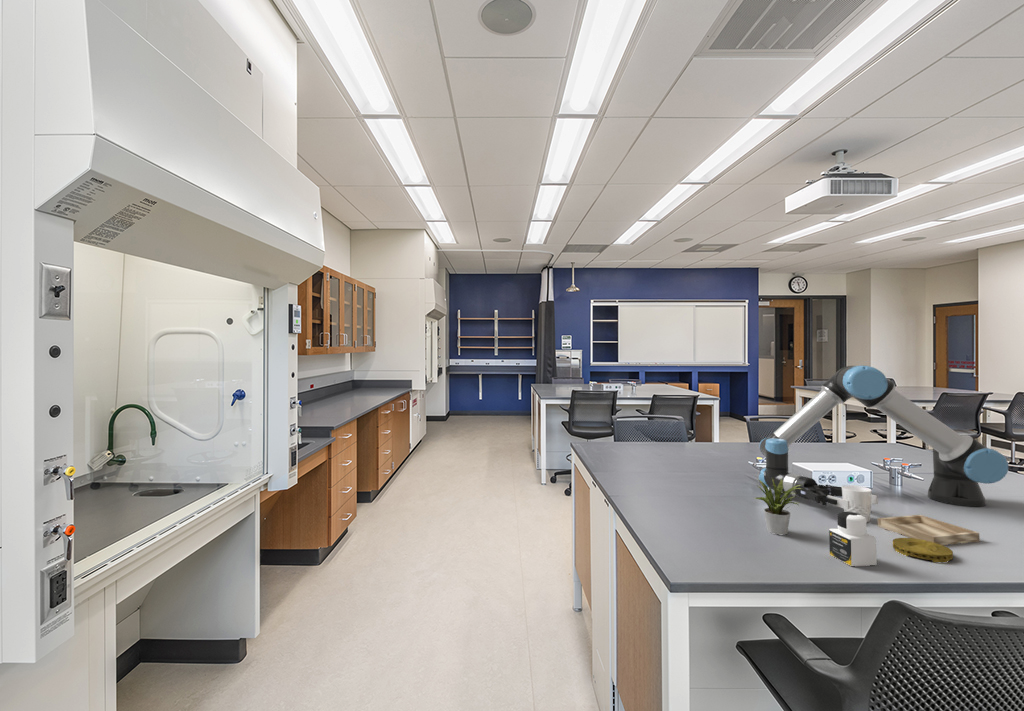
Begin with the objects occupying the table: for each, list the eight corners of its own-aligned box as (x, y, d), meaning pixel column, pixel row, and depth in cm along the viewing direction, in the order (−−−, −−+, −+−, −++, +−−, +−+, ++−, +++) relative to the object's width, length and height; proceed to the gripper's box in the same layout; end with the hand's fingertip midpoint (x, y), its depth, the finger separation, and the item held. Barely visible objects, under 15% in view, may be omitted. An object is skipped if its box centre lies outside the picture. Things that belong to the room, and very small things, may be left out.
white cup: (864, 524, 145) (863, 492, 145) (837, 517, 152) (836, 487, 152) (877, 520, 148) (876, 489, 148) (850, 513, 155) (849, 484, 155)
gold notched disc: (890, 554, 123) (889, 546, 123) (895, 542, 131) (895, 534, 131) (952, 568, 114) (951, 559, 114) (953, 554, 123) (953, 545, 123)
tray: (919, 522, 146) (919, 514, 146) (979, 541, 130) (979, 532, 130) (877, 526, 143) (877, 518, 143) (933, 546, 127) (933, 537, 127)
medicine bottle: (828, 555, 122) (827, 509, 122) (854, 554, 123) (853, 509, 123) (851, 567, 115) (849, 518, 115) (877, 565, 115) (876, 517, 116)
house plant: (813, 545, 128) (812, 486, 129) (757, 539, 133) (756, 482, 134) (801, 528, 142) (799, 475, 142) (751, 523, 147) (750, 471, 147)
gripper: (824, 493, 172) (888, 509, 152) (776, 500, 163) (836, 519, 144) (824, 473, 172) (887, 486, 152) (775, 479, 164) (836, 495, 144)
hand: (863, 502), depth 148 cm, fingers open, 13 cm apart
